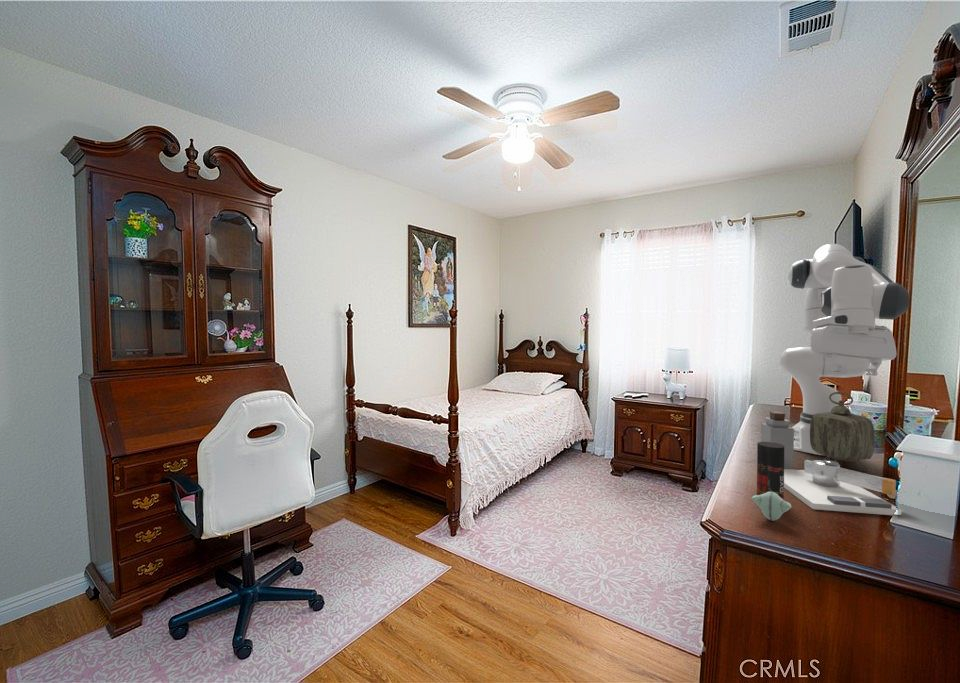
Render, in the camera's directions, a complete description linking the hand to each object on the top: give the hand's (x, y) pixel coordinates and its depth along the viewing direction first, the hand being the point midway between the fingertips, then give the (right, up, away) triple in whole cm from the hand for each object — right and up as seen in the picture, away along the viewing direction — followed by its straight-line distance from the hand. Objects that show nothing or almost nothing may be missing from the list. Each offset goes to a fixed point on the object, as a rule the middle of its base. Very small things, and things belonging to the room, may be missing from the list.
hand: (853, 373), depth 111 cm
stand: (-2, -34, +7) cm, 34 cm away
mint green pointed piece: (-29, -35, -11) cm, 46 cm away
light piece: (+2, -32, +4) cm, 32 cm away
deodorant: (-22, -34, +1) cm, 40 cm away
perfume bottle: (0, -33, +29) cm, 44 cm away
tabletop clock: (+19, -33, +27) cm, 47 cm away
